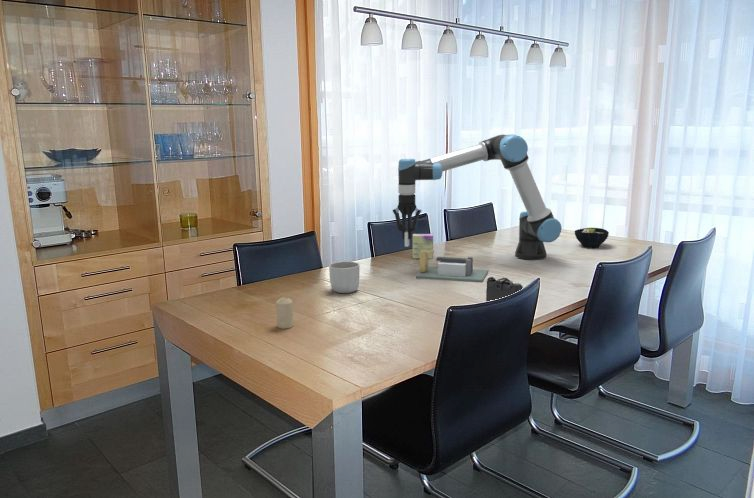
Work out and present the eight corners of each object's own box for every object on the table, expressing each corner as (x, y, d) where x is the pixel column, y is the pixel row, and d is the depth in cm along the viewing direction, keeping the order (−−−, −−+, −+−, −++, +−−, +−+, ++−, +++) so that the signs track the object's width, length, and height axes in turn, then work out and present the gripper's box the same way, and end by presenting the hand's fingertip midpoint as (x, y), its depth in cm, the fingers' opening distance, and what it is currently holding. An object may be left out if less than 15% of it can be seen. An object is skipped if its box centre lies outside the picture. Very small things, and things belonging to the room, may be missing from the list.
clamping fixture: (488, 272, 264) (488, 254, 263) (482, 282, 247) (482, 263, 246) (425, 268, 273) (425, 251, 272) (415, 278, 257) (415, 260, 255)
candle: (277, 323, 201) (276, 295, 199) (294, 323, 201) (292, 295, 199) (276, 329, 196) (274, 300, 194) (293, 328, 196) (291, 299, 194)
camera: (532, 303, 217) (533, 277, 215) (517, 310, 209) (518, 283, 207) (498, 296, 227) (499, 271, 225) (483, 303, 219) (483, 277, 217)
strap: (471, 261, 258) (471, 258, 258) (470, 263, 255) (470, 259, 255) (437, 259, 263) (437, 256, 262) (436, 260, 260) (436, 257, 259)
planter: (337, 296, 232) (336, 269, 229) (325, 289, 242) (324, 263, 240) (365, 292, 237) (364, 265, 235) (352, 285, 248) (351, 260, 246)
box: (433, 256, 299) (433, 233, 297) (433, 258, 294) (433, 235, 291) (412, 256, 300) (412, 233, 298) (412, 258, 295) (412, 235, 292)
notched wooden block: (434, 270, 265) (434, 250, 263) (431, 272, 261) (431, 252, 259) (422, 269, 267) (422, 249, 265) (420, 272, 262) (419, 252, 260)
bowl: (610, 245, 316) (612, 226, 314) (604, 251, 301) (605, 232, 299) (578, 242, 325) (579, 224, 323) (570, 248, 310) (571, 229, 308)
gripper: (423, 193, 261) (423, 245, 266) (395, 192, 265) (395, 243, 270) (419, 195, 254) (418, 248, 259) (390, 194, 258) (390, 247, 263)
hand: (407, 246), depth 264 cm, fingers closed
